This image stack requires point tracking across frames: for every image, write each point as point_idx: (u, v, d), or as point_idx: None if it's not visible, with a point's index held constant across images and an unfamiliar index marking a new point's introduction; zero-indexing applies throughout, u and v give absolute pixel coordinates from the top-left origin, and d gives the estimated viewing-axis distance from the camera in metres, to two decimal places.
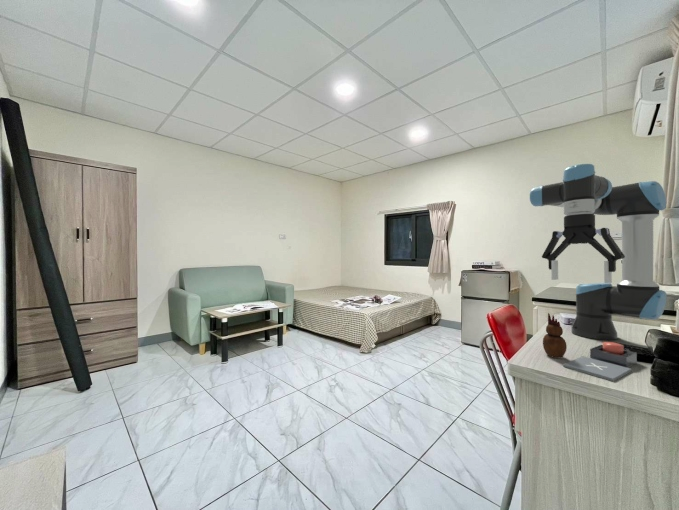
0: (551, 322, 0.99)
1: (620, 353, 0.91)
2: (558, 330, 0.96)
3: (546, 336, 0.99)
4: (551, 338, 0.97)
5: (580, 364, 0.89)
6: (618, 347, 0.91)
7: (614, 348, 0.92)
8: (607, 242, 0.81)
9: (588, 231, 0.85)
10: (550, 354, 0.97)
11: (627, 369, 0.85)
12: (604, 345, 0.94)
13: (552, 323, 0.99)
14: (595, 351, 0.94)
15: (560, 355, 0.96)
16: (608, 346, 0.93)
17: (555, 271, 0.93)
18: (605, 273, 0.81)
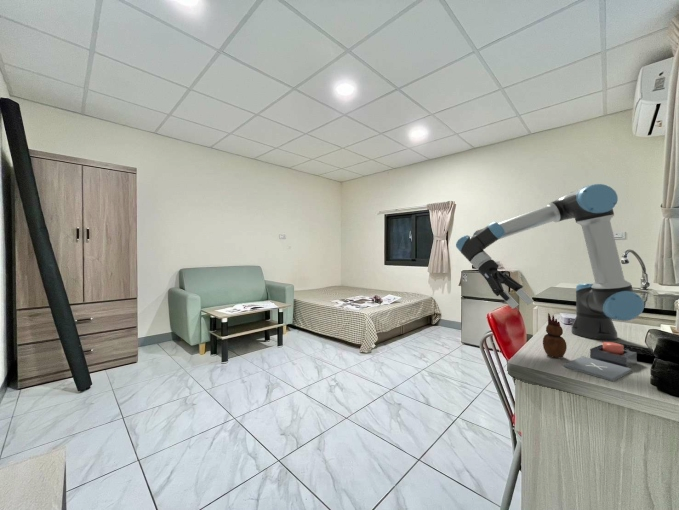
0: (551, 322, 0.99)
1: (620, 353, 0.91)
2: (558, 330, 0.96)
3: (546, 336, 0.99)
4: (551, 338, 0.97)
5: (580, 364, 0.89)
6: (618, 347, 0.91)
7: (614, 348, 0.92)
8: None
9: None
10: (550, 354, 0.97)
11: (627, 369, 0.85)
12: (604, 345, 0.94)
13: (552, 323, 0.99)
14: (595, 351, 0.94)
15: (560, 355, 0.96)
16: (608, 346, 0.93)
17: (524, 298, 1.12)
18: None
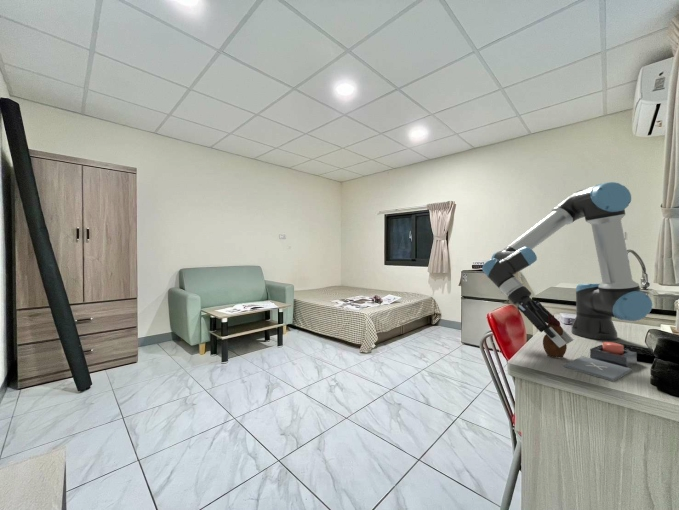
0: (551, 322, 0.99)
1: (620, 353, 0.91)
2: (558, 330, 0.96)
3: (546, 336, 0.99)
4: None
5: (580, 364, 0.89)
6: (618, 347, 0.91)
7: (614, 348, 0.92)
8: None
9: None
10: (550, 354, 0.97)
11: (627, 369, 0.85)
12: (604, 345, 0.94)
13: (552, 323, 0.99)
14: (595, 351, 0.94)
15: (560, 355, 0.96)
16: (608, 346, 0.93)
17: (562, 336, 0.99)
18: None
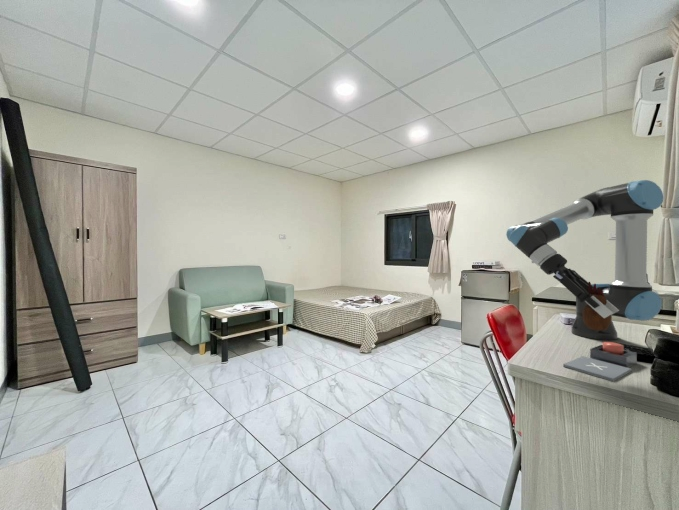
0: (592, 291, 0.88)
1: (620, 353, 0.91)
2: (602, 299, 0.85)
3: (587, 307, 0.88)
4: None
5: (580, 364, 0.89)
6: (618, 347, 0.91)
7: (614, 348, 0.92)
8: None
9: None
10: (592, 327, 0.86)
11: (627, 369, 0.85)
12: (604, 345, 0.94)
13: (594, 292, 0.88)
14: (595, 351, 0.94)
15: (604, 327, 0.85)
16: (608, 346, 0.93)
17: None
18: None
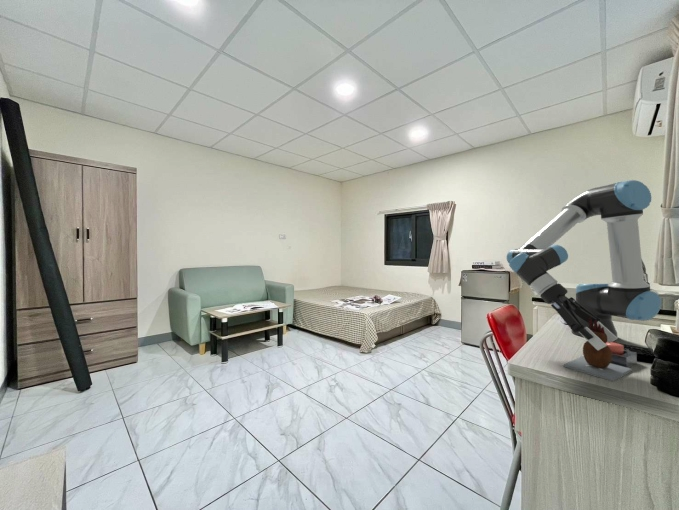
0: (593, 328, 0.88)
1: (620, 353, 0.91)
2: (603, 337, 0.85)
3: (587, 343, 0.88)
4: None
5: (580, 364, 0.89)
6: (618, 347, 0.91)
7: (614, 348, 0.92)
8: None
9: None
10: (593, 364, 0.86)
11: (627, 369, 0.85)
12: None
13: (594, 329, 0.88)
14: None
15: (605, 365, 0.85)
16: (608, 346, 0.93)
17: None
18: None
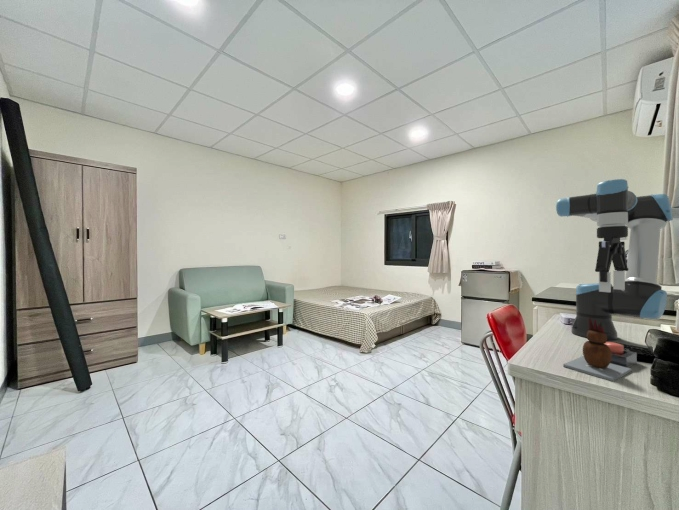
0: (593, 328, 0.88)
1: (620, 353, 0.91)
2: (602, 337, 0.85)
3: (587, 343, 0.88)
4: (594, 346, 0.86)
5: (580, 364, 0.89)
6: (618, 347, 0.91)
7: (614, 348, 0.92)
8: None
9: None
10: (593, 364, 0.86)
11: (627, 369, 0.85)
12: None
13: (594, 329, 0.88)
14: None
15: (605, 365, 0.85)
16: (608, 346, 0.93)
17: (617, 281, 0.97)
18: None
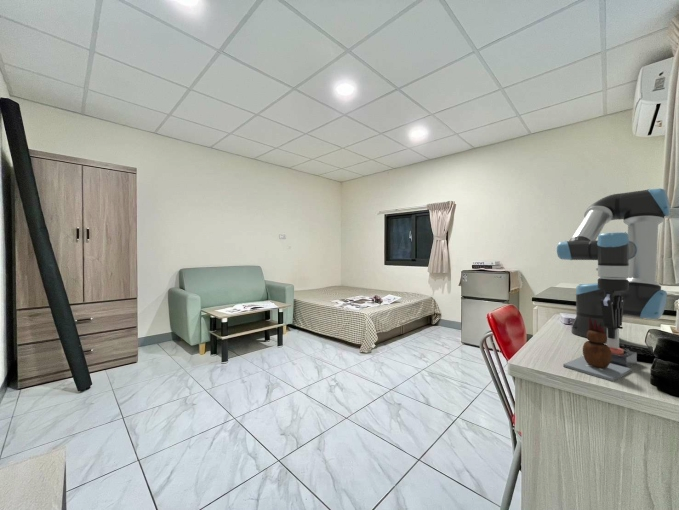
0: (593, 328, 0.88)
1: None
2: (602, 337, 0.85)
3: (587, 343, 0.88)
4: (594, 346, 0.86)
5: (580, 364, 0.89)
6: (618, 351, 0.91)
7: (614, 352, 0.92)
8: None
9: None
10: (593, 364, 0.86)
11: (627, 369, 0.85)
12: None
13: (594, 329, 0.88)
14: None
15: (605, 365, 0.85)
16: None
17: None
18: None
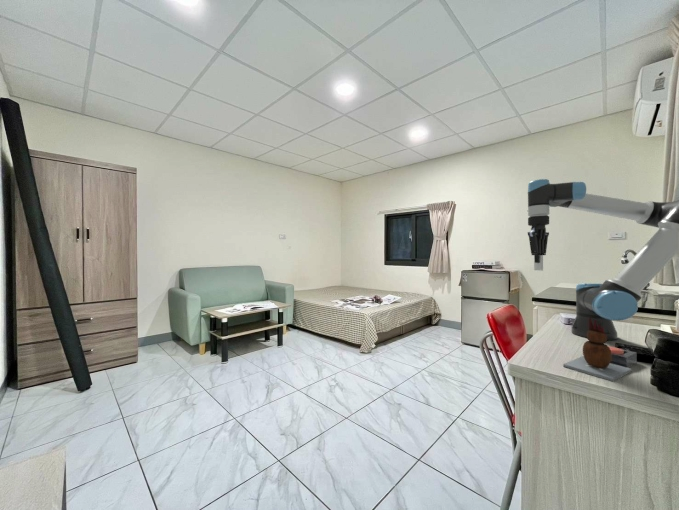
0: (593, 328, 0.88)
1: None
2: (602, 337, 0.85)
3: (587, 343, 0.88)
4: (594, 346, 0.86)
5: (580, 364, 0.89)
6: (618, 352, 0.91)
7: None
8: None
9: None
10: (593, 364, 0.86)
11: (627, 369, 0.85)
12: None
13: (594, 329, 0.88)
14: None
15: (605, 365, 0.85)
16: None
17: None
18: None
